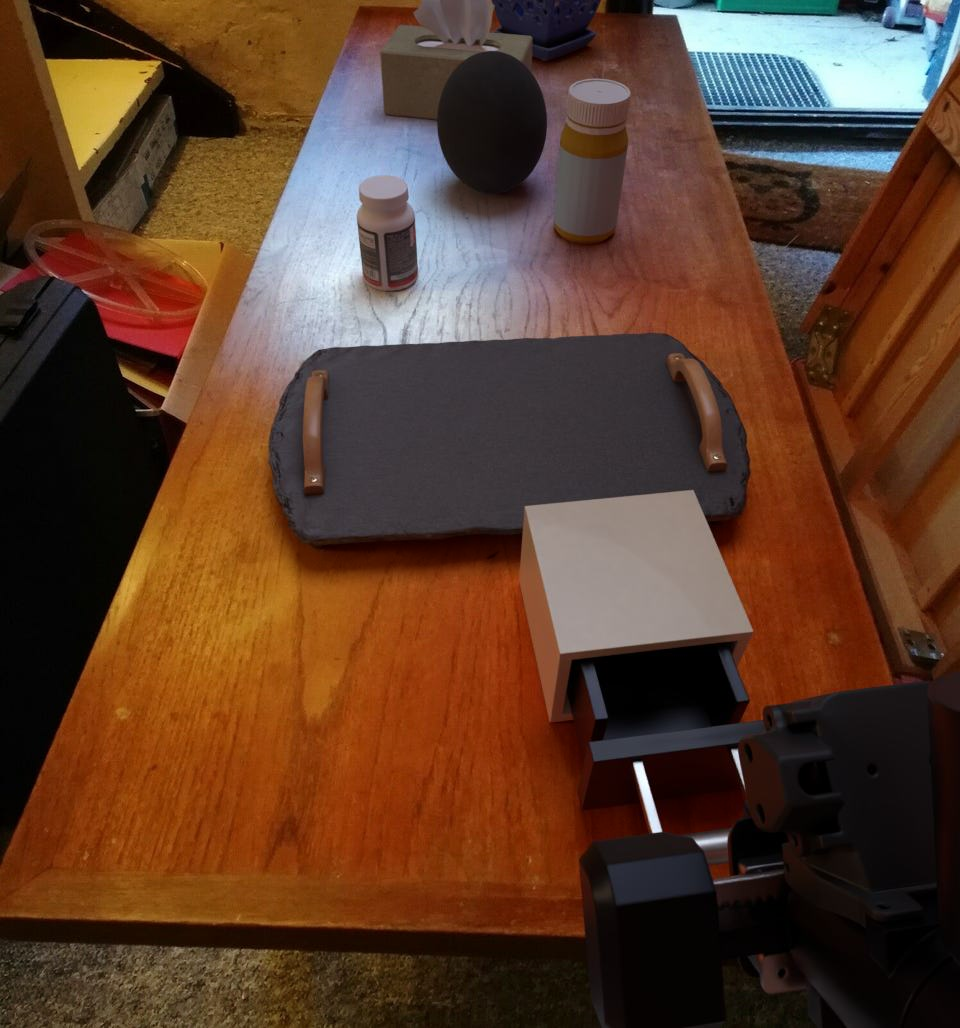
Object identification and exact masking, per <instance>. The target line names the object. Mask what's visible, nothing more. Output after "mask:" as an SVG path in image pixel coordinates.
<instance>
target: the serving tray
mask: <svg viewBox="0 0 960 1028" xmlns="http://www.w3.org/2000/svg"><path fill="white" fill-rule="evenodd" d="M278 405H279V406H278V409H277V411H276V414H275V416H274V419H273V422H272V425H271V427H270V431H269V435H268V436H269V437H268V464H269V467H270V469H271V473H272V489H273V493H274V496H275V498H276V501H277V503H278V504H279V505H280V506H281V508H282V514H283V516H284V517H285V519H286V520H287V523H288V527H289V528H290V530H291V531H292V532H293V534H294V535H295V536H296V538H298V540H299V541H300V542H301V543H303V544H306V545H309V546H310V547H311V548H313V549H316V550H320V549H323V548H325V547H326V546H327V545H328V546H329V545H340V544H341V545H342V544H354V543H355V544H356V543H361V544H362V543H373V542H375V543H376V542H395V541H417V540H418V541H419V540H420V541H421V540H424V541H435V540H443V539H447V538H449V539H450V538H454V537H464V536H470V535H471V536H472V535H496V536H497V535H499V536H513V535H523V522H524V508H525V506H532V505H542V504H552V503H563V502H573V501H584V500H594V499H604V498H615V497H625V496H635V495H646V494H656V493H667V492H677V491H687V490H694V492H695V495H696V497H697V499H698V502H699V504H700V507H701V509H702V511H703V514H704V516H705V518H706V521H707V522H710V523H712V524H713V525H722V524H724V523H725V522H727V521H728V520H734V519H738V518H740V517H741V516H742V515H743V512H744V511H745V508H746V507H747V506H746V505H747V501H748V500H747V499H748V498H747V488H748V483H749V479H750V476H751V473H752V472H751V467H750V466H751V457H750V454H749V449H748V446H747V445H748V434H747V430H746V428H745V426H744V423H743V420H742V419H741V416H740V414H739V412H738V410H737V407H736V406H735V402H734V400H733V398H732V396H731V395H730V394H729V391H727V390H726V388H725V387H724V386H723V384H722V382H721V381H720V380H719V379H718V378H717V376H716V375H715V374H714V373H713V372H712V371H711V370H710V369H709V367H708V366H707V365H706V364H705V363H704V362H703V361H702V360H701V359H700V358H699V357H698V356H697V355H695V354H694V353H693V352H692V351H690V350H689V349H688V347H687V346H686V345H685V344H684V343H683V342H681V341H680V340H679V339H677V338H676V337H674V336H671V334H668V333H661V332H645V333H614V334H596V335H572V336H559V337H554V338H551V337H542V338H541V337H538V338H537V337H536V338H535V337H524V338H511V339H510V338H509V339H490V340H478V339H477V340H476V339H474V340H464V341H443V342H423V343H400V344H399V343H398V344H397V343H396V344H381V345H357V346H343V347H342V346H341V347H340V346H333V347H326V348H320V349H317V350H316V351H314V353H312V354H311V355H310V356H309V357H307V358H306V359H305V360H304V361H303V362H302V364H301V365H300V366H299V368H298V369H297V371H295V373H294V376H293V378H292V379H291V380H290V382H289V383H288V385H286V388H285V389H284V391H283V393H282V395H281V397H280V399H279V402H278Z"/></svg>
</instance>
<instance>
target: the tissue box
mask: <svg viewBox="0 0 960 1028" xmlns="http://www.w3.org/2000/svg"><path fill="white" fill-rule="evenodd" d="M494 7H495V5H494V4H493V3H492V0H421V2H420V4H419V6H418V8H417V9H415V10H414V11H413V12H412V14H413V16H414V18H415V20H416V21H417V23H418V24H419V25H407V24H399V25H398V26H397V28H395V29H396V30H395V31H394V32H393V33H392V35H391V36H390V38H389V39H388V40H387V42H386V43H385V45H384V46H383V47H382V48H381V50H380V52H379V56H380V57H379V58H380V73H381V83H382V84H381V88H382V100H383V102H382V103H383V114H384V115H386V116H395V117H404V118H413V119H414V118H415V119H425V120H433V121H437V113H438V105H439V101H440V97H441V94H442V91H443V88H444V86H445V84H446V82H447V80H448V78H449V77H450V75H451V74H452V72H453V71H454V70H455V69H456V68H457V66H458V65H459V64H461V63H462V62H463V61H464V60H466V59H467V58H469V57H470V56H472V55H475V54H477V53H480V52H485V51H498V52H503V53H506V54H509V55H511V56H513V57H515V58H516V59H518V60H519V61H521V62H522V63H523V64H524V65H525V66H526V67H527V68H528V69H529V70H530V71H531V73H533V56H532V37H531V36H526V35H515V34H503V33H494V32H490V30H491V26H492V23H493V14H494V13H493V12H494V11H495V10H494Z"/></svg>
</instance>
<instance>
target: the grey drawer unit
mask: <svg viewBox="0 0 960 1028" xmlns="http://www.w3.org/2000/svg"><path fill="white" fill-rule="evenodd" d="M518 576H519V578H518V582H519V587H520V591H521V596H522V601H523V606H524V611H525V616H526V619H527V620H526V621H527V624H528V629H529V633H530V638H531V641H532V642H531V643H532V648H533V652H534V657H535V661H536V667H537V670H538V675H539V680H540V685H541V689H542V694H543V698H544V702H545V708H546V713H547V716H548V717H547V718H548V722H549V723H556V722H557V723H558V722H559V723H560V722H566V721H573V716H572V712H571V708H570V704H569V700H568V695H567V685H568V680H569V674H570V668H571V662H572V660H574V659H583V658H592V657H600V656H609V655H617V654H626V653H635V652H643V651H652V650H661V649H669V648H678V647H686V646H695V645H704V644H712V643H721V642H727V644H728V646H729V649H730V651H731V654H732V657H733V659H734V662H735V664H736V667H737V669H738V668H739V665H740V663H741V661H742V659H743V656H744V654H745V651H746V649H747V647H748V645H749V643H750V640H751V639H752V637H753V635H754V629H753V626H752V624H751V621H750V619H749V617H748V615H747V613H746V611H745V607H744V605H743V603H742V601H741V598H740V596H739V594H738V592H737V589H736V586H735V585H734V582H733V579H732V577H731V574H730V572H729V570H728V568H727V566H726V563H725V561H724V558H723V555H722V553H721V551H720V549H719V547H718V545H717V541H716V539H715V538H714V535H713V532H712V530H711V528H710V525H709V523H708V521H706V518H705V516H704V514H703V511H702V509H701V507H700V504H699V502H698V499H697V497H696V495H695V492H694V490H687V491H677V492H667V493H656V494H646V495H635V496H625V497H615V498H604V499H594V500H584V501H573V502H563V503H552V504H542V505H532V506H525V508H524V522H523V534H522V537H521V549H520V562H519V575H518Z"/></svg>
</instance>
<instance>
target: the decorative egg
mask: <svg viewBox="0 0 960 1028" xmlns="http://www.w3.org/2000/svg"><path fill="white" fill-rule="evenodd" d="M547 113H548V112H547V105H546V100H545V98H544V93H543V91H542V88H541V86H540V85H539V82H538V81H537V79H536V77H535V75H534V74H533V72H531V71H530V70H529V69H528V68H527V67H526V66H525V65H524V64H523V63H522V62H521V61H519V60H518V59H516V58H515V57H513V56H511V55H509V54H506V53H503V52H498V51H485V52H480V53H477V54H475V55H472V56H470V57H469V58H467V59H466V60H464V61H463V62H462V63H461V64H459V65H458V66H457V68H456V69H455V70H454V71H453V72H452V74H451V75H450V77H449V78H448V80H447V82H446V84H445V86H444V88H443V91H442V94H441V97H440V101H439V105H438V113H437V120H436V126H437V127H436V129H437V137H438V143H439V147H440V149H441V153H442V155H443V158H444V160H445V162H446V164H447V166H448V167H449V168H450V170H451V172H452V173H453V174H454V175H455V177H456V178H457V179H458V180H459V181H461V183H463V184H464V185H466V186H467V187H468V188H470V189H472V190H473V191H474V190H475V191H477V192H479V193H483V194H501V193H506V192H508V191H511V190H513V189H515V188H517V187H518V186H519V185H521V184H522V183H523V182H524V181H525V180H527V178H528V177H529V176H530V175H531V174H532V173H533V171H534V170H535V169H536V167H537V165H538V163H539V162H540V159H541V156H542V153H543V151H544V147H545V144H546V140H547V134H548V133H547V132H548V114H547Z"/></svg>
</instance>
